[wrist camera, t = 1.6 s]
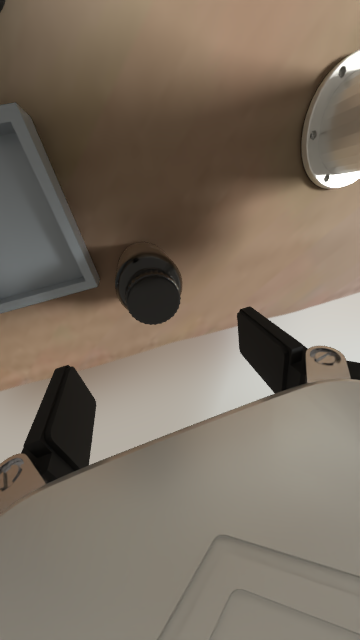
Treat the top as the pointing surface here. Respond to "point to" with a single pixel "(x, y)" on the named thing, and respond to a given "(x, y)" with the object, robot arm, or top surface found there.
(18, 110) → the tray
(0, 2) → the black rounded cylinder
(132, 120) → the top surface
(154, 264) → the supplement bottle
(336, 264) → the top surface
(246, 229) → the top surface
